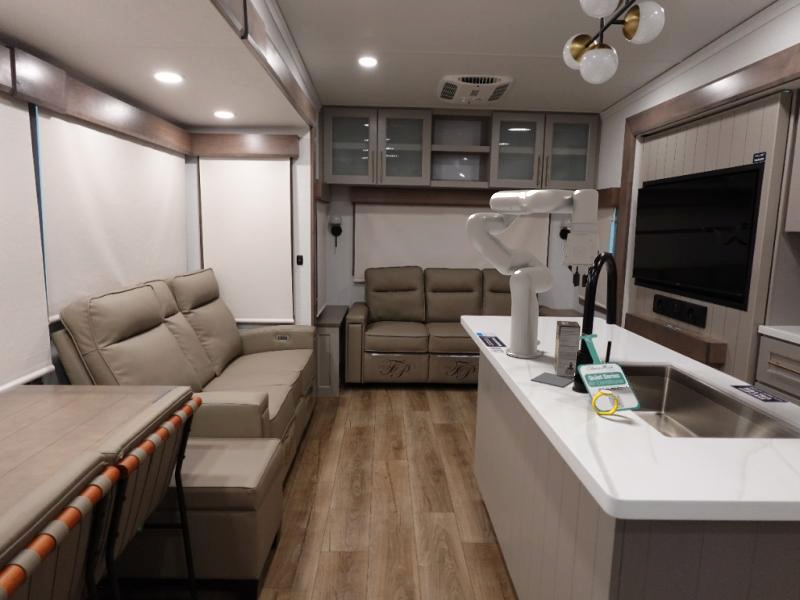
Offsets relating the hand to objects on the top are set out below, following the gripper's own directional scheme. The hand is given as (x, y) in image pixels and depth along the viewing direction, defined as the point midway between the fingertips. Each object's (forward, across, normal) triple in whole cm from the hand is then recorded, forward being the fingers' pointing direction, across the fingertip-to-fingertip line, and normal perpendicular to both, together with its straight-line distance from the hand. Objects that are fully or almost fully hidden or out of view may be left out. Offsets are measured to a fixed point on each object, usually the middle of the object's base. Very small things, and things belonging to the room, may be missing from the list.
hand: (580, 286), depth 160 cm
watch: (+27, +21, -36) cm, 50 cm away
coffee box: (+27, 0, -9) cm, 29 cm away
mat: (+27, 0, -18) cm, 33 cm away
